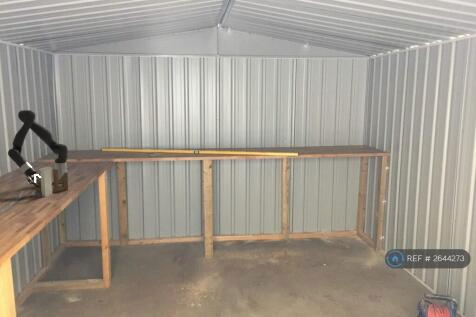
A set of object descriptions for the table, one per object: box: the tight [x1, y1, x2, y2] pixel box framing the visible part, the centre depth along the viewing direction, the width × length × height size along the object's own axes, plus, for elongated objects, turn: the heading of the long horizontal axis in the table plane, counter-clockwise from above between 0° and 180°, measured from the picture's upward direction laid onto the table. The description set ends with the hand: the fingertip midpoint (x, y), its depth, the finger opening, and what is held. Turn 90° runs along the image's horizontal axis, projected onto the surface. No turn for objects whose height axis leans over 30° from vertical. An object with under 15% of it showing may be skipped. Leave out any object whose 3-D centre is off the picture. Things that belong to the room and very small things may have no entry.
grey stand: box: [29, 166, 54, 198], centre depth 316 cm, size 11×13×21 cm
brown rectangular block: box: [35, 180, 42, 192], centre depth 317 cm, size 4×6×10 cm, turn 78°
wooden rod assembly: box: [52, 168, 69, 193], centre depth 331 cm, size 4×11×18 cm, turn 140°
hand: (42, 186), depth 317 cm, fingers open, 8 cm apart
